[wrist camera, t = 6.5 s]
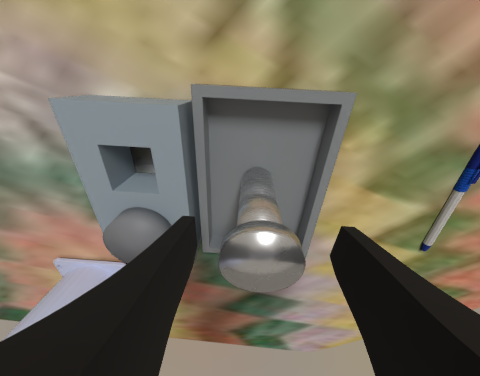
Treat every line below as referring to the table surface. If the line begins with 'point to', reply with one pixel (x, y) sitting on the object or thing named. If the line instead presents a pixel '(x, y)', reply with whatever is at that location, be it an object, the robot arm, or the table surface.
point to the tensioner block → (132, 165)
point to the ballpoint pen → (454, 198)
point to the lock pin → (260, 240)
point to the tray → (265, 151)
